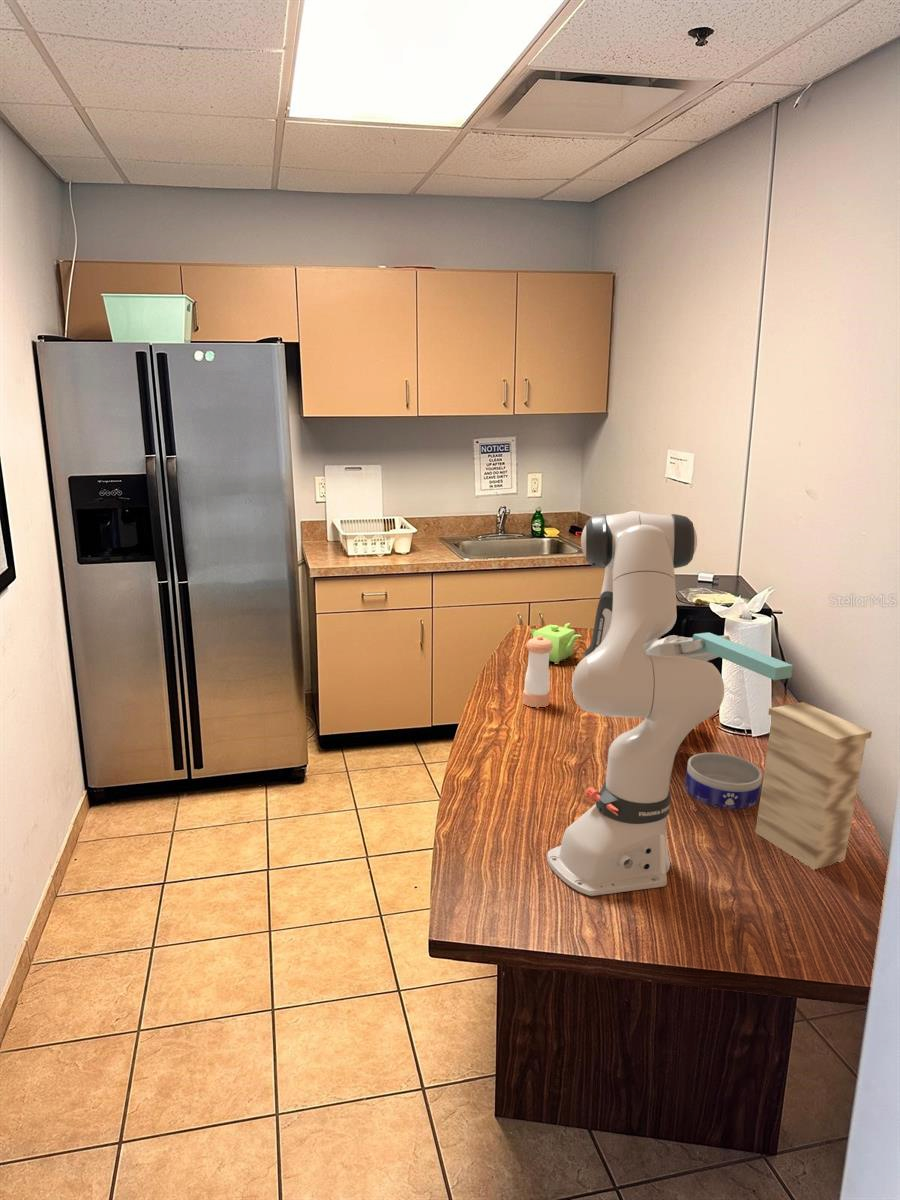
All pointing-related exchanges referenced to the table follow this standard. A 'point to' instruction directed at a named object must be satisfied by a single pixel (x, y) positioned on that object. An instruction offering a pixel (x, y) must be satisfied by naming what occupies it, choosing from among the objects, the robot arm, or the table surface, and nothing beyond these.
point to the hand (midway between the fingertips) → (713, 641)
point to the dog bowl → (723, 780)
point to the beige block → (810, 783)
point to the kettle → (558, 640)
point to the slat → (745, 656)
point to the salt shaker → (537, 673)
